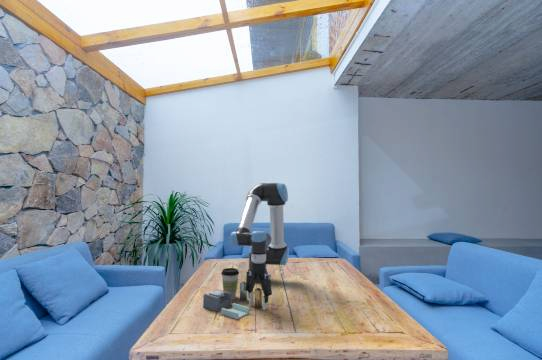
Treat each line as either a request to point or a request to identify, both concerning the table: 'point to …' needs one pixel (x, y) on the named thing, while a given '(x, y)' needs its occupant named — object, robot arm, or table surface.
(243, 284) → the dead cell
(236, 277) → the coffee cup
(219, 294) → the plate
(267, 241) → the robot arm
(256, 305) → the cell
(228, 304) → the cradle
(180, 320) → the table surface
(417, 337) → the table surface
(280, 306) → the table surface
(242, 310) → the trough
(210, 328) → the table surface
